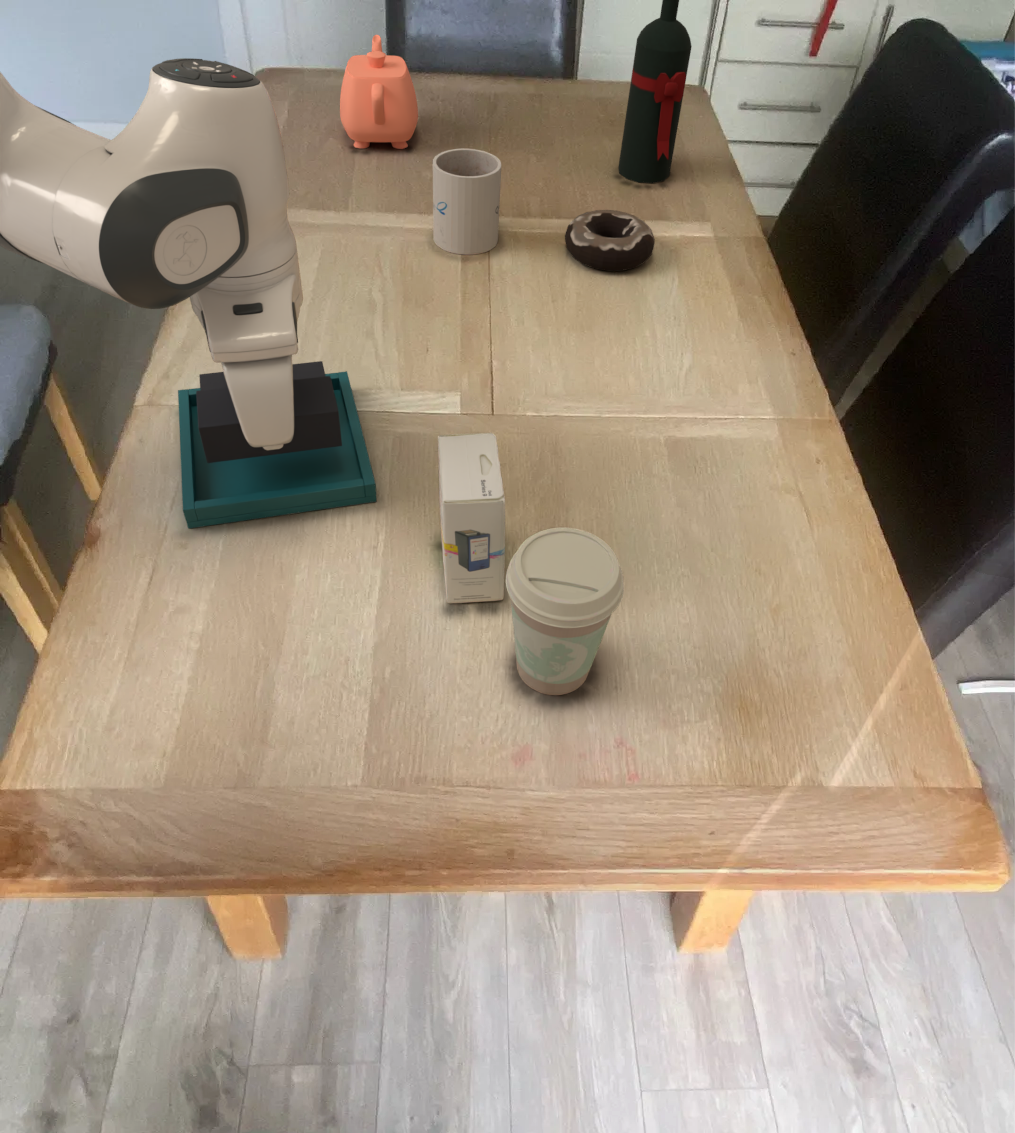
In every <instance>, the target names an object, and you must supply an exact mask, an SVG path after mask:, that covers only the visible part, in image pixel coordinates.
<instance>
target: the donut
mask: <svg viewBox="0 0 1015 1133" xmlns="http://www.w3.org/2000/svg"><path fill="white" fill-rule="evenodd" d="M655 242H656V240H655V236H654V233H653V230H652V228H651V227H650V226H649V224H647V222H646V221H644V220H643V219H641V218H639V217H638V216H636V215H634V214H631V213H628V212H626V211H621V210H615V209H595V210H591V211H586V212H583V213H581V214H579V215H577V216H576V217H575V218H574V219H573V220H571V221H570V222H569V223H568V225H567V228H566V230H565V233H564V243H565V247H566V250H567V252H568V253H569V254H570V255H571V256H572V258H574V260H576V261H578V262H579V263H581V264H582V265H585V266H587V267H589V268H592V269H595V270H600V271H606V272H619V271H622V272H623V271H627V270H632V269H635V268H637V267H639V266H641V265H642V264H644V263H646V261H647V260H649V258H650V257H651V256H652V255H653V251H654V249H655V245H656V244H655Z"/></svg>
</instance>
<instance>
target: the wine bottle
mask: <svg viewBox="0 0 1015 1133" xmlns="http://www.w3.org/2000/svg"><path fill="white" fill-rule="evenodd" d="M679 4H680V0H661V7H660V13H659V17H658V18H655V19H653V20H651V22H649V23H648V24H646V25H645V26H644V27H643V28H642V29H641V31H640V32H639V34H638V36H637V38H636V44H635V50H634V57H633V63H632V71H631V78H630V85H629V92H628V98H627V105H626V111H625V112H626V113H625V120H624V126H623V132H622V140H621V147H620V153H619V160H618V167H617V168H618V174H619V175H621V176H622V177H623V178H625V179H626V180H629V181H632V182H636V183H640V184H657V183H662V182H665V181H666V180H667V179H668V178H669V177H670V173H671V169H672V162H673V156H674V151H675V146H676V140H677V134H678V128H679V122H680V116H681V111H682V105H683V99H684V92H685V86H686V81H687V75H688V70H689V64H690V58H691V53H692V41H691V37H690V34H689V32H688V30H687V28H686V27H685V25H684V24H683V23H682V22H681V21H680V20H678V19H677V16H678V11H679V6H680V5H679Z"/></svg>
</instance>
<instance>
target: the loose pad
mask: <svg viewBox="0 0 1015 1133" xmlns="http://www.w3.org/2000/svg"><path fill="white" fill-rule="evenodd" d="M293 394H294V435H293V439H292V441H291V442H289V443H286V444H283V447H282V448H280V449H274V450H265V449H264V448H263V447H252V446H250V445H249V443H248V442H247V440H246V439H245V436H244V434H243V432H242V429H241V426H240V423H239V420H238V417H237V414H236V411H235V408H234V405H233V401H232V398H231V395H230V392H229V389H228V387H227V388H218V389H209V390H200V391H196V397H197V413H198V429H199V433H200V436H201V440H202V444H203V448H204V452H205V456H206V460H207V463H214V462H221V461H229V460H237V459H244V458H252V457H260V456H268V455H275V454H283V453H291V452H299V451H306V450H314V449H322V448H330V447H337V446H342V439H341V430H340V421H339V412H338V407H337V403H336V398H335V394H334V390H333V385H332V381H331V377H330V376H325V377H316V378H307V379H298V380H293Z"/></svg>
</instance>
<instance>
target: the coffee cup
mask: <svg viewBox="0 0 1015 1133" xmlns="http://www.w3.org/2000/svg"><path fill="white" fill-rule="evenodd" d="M624 582H625V581H624V573H623V570H622V568H621V565H620V562H619V558H618V556H617V554H616V553H615V551H614V549H613V548H612V547H611V546H610V545H609V544H608V543H607V542H606V541H604V539H602V538H600V537H599V536H597V535H596V534H593V533H591V532H588V531H586V530H584V529H583V530H582V529H579V528H573V527H562V526H561V527H551V528H547V529H543V530H540V531H537V532H536V533H534V534H532V535H530V536H529V537H527V538H526V539H525V540H523V542H522V543H521V544H520V546H519V547H518V549H517V550H516V552H515V553H514V554H513V555H512V557H511V559H510V561H509V564H508V567H507V569H506V573H505V587H506V591H507V594H508V596H509V598H510V606H511V607H510V608H511V616H512V626H513V640H514V650H515V652H514V653H515V661H516V670H517V673H518V675H519V677H520V679H521V681H523V683H524V684H525V685H526V686H527V687H529V688H530V689H532V690H534V691H535V692H538V693H541V694H544V695H548V696H561V695H566V694H570V693H573V692H574V691H576V690H578V689H579V688H580V687H582V685H583V684H584V683H585V681H586V680H587V678H588V676H589V673H590V671H591V668H592V666H593V663H594V661H595V658H596V655H597V653H598V650H599V648H600V646H601V642H602V640H603V638H604V635H605V632H606V630H607V627H608V625H609V622H610V620H611V617H612V614H613V613H614V612H615V611H616V610H617V609H618V607H619V606H620V604H621V602H622V601H623V597H624V592H625V584H624Z"/></svg>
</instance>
